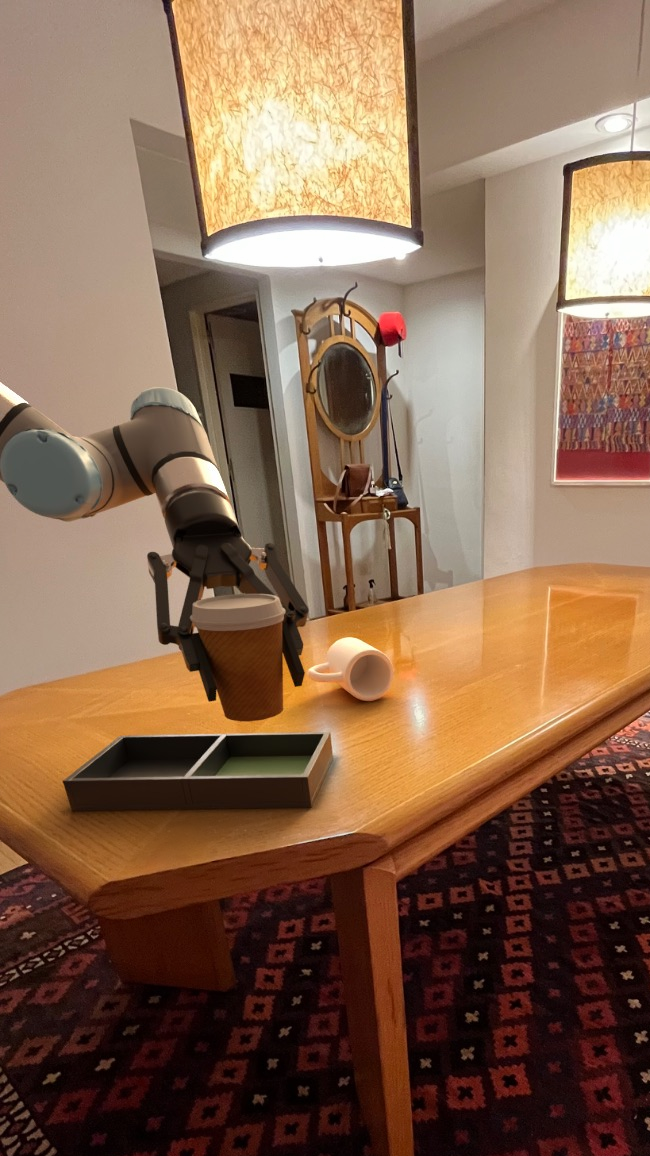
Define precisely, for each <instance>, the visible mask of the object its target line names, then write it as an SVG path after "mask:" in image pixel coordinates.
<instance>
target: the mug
mask: <svg viewBox="0 0 650 1156" xmlns="http://www.w3.org/2000/svg"><path fill="white" fill-rule="evenodd" d="M307 676H308V678H309V679H310V680H311V681H313V682H316V683H323V684H324V683H326V684H337V685H338V686H339V687H341V688H342V689H344V690H345V691H346V692H348V693H349V694H350V695H352V696H353V697H354V698H356V699H358V700H360V701H363V702H372V701H376V700H379V699H380V698H382V697H383V696H385V695H386V694H387V693H388V691H389V690H390V689H391V687H392V685H393V682H394V677H395V669H394V665H393V663H392V660H391V659H390V658H389V656H387V654H385V653H384V652H383V651H381V650H379V649H378V648H376V647H374V646H372V645H369V643H366V642H364V641H363V640H361V639H359V638H356V637H350V636H349V637H348V636H347V637H343V638H340V639H338V640H336V641H335V642H334V643H333V644H332V645H330V646H329V648H328V649H327V652H326V655H325V661H324V662H323V663H320V664H316V665H314V666H312V667H310V668H308V670H307Z"/></svg>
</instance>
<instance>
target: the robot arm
mask: <svg viewBox="0 0 650 1156" xmlns="http://www.w3.org/2000/svg"><path fill="white" fill-rule="evenodd" d="M0 481H1V482H3V483H4V484H5V486H6V488H7V491H8V492H9V493H10V494H11V495H12V497H13V498H14V499H15V500H16V501H17V502H18V503H19V504H20V505H21V506H22V507H24V508H25V509H26V510H28V511H29V512H31V513H33V514H35V515H39V516H41V517H44V518H47V519H48V518H49V519H54V520H59V521H62V522H65V523H66V522H67V523H69V522H73V521H77V520H81V519H87V518H93V517H95V516H96V515H97V514H100V513H102V512H103V513H104V512H105V511H108V510H111V509H114V508H117V507H120V506H123V505H125V504H127V503H130V502H133V501H136V500H139V499H141V498H144V497H148V496H152V495H154V494H155V495H156V498H157V502H158V505H159V508H160V511H161V515H162V517H163V520H164V524H165V527H166V531H167V533H168V537H169V540H170V543H171V546H172V551H171V553H169V554H164V555H160V554H159V553H158V552H156V551H149V552H148V553H147V554H146V555H147V556H146V558H147V568H148V573H149V576H150V577H151V579H152V580H153V583H154V591H155V593H154V594H155V606H156V607H155V609H156V610H155V611H156V627H157V638H158V643H160V644H161V645H164V646H168V645H169V644H174V645H177V646H178V650H180V651H181V654H182V658H183V661H184V664H185V666H186V669H187V671H189V673H192V672H198V673H199V676H200V679H201V683H202V685H203V688H204V692H205V694H206V695H205V696H206V699H207V701H208V702H209V703H211V702H216V701H217V687H216V684H215V681H214V678H213V674H212V671H211V668H210V665H209V662H208V659H207V656H206V653H205V650H204V647H203V644H202V640H201V638H200V635H199V633H198V632H194V631H195V628H196V627H195V626H194V623H193V622H192V621H191V619H190V616H191V615H192V609H193V603H194V602H196V601H199V600H202V599H203V595H204V591H205V588H206V590H211V589H216V588H219V587H226V588H231V587H235V588H237V590H238V591H239V592H240V594H269V595H274V596H277V597H279V599H280V602H281V605H282V608H284V609H285V614H284V619H283V621H282V645H283V648H282V650H283V659H284V660H285V663H286V666H287V669H288V671H289V675H290V677H291V680H292V683H293V685H294V688H297V687H302V686H303V682H304V678H305V674H306V672H305V670H304V666H303V663H302V661H301V658H300V656H302V654H303V649H304V642H303V639H302V637H301V633H300V630H299V628H304V627H305V626H306V625H307V620H308V617H309V611H310V609H309V607H308V605H307V604H306V601H304V599H303V598H302V596H301V594H300V593H299V591H298V589H297V587H296V586H295V584H294V583H293V581H292V579H291V577H290V576H289V575H288V573H287V571H286V570H285V568H284V566H283V565H282V563H281V562H280V560H279V558H278V557H279V556H278V551H277V547H276V545H275V544H274V543H272V542H267V543H265V544H264V547H251V545H250V544H249V543H248V542H246V540H245V539H244V538H243V535H242V531H241V529H240V525H239V523H238V521H237V518H236V514H235V511H234V509H233V507H232V505H231V501H230V497H229V495H228V492H227V490H226V486H225V484H224V481H223V480H222V476H221V474H220V471H219V468H218V464H217V462H216V459H215V457H214V452H213V450H212V447H211V444H210V441H209V437H208V434H207V432H206V430H205V428H204V426H203V423H202V421H201V419H200V416H199V413H198V412H197V409H196V407H195V406H194V404H193V403H192V402H191V400H190V399H189V398H188V397H187V396H186V395H184V394H183V393H181V392H180V391H178V390H175V389H173V388H169V387H164V386H163V387H162V386H155V387H150V388H147V389H145V390H143V391H142V392H140V394H139V395H138V396H137V397H136V398H135V399H134V400H133V401H132V403H131V406H130V420H128V421H124V422H122V423H119V424H118V425H115V426H113V427H110V428H107V429H103V430H101V431H96V432H93V433H90V434H86V435H84V436H76V435H72V434H71V433H69V432H68V431H66V430H65V429H64V428H63V427H61V426H60V425H58V424H57V423H56V422H54V421H53V420H52V419H50V418H49V417H48V416H46V415H45V414H44V413H42V412H41V411H39V410H38V409H36V408H35V407H33V406H32V405H31V404H29V402H27V401H26V400H24V399H23V398H22V397H21V396H19V395H18V394H16V392H14V391H12V390H11V389H10V388H9V387H7V386H5V384H3V383H2V382H0ZM251 561H252V562H255V563H256V564H257V566H258V567H259V569H260V570H261V571H264V573H265V576H266V578H267V580H268V582H270V585H271V586H272V588H273V589H274V591H275V593H276V594H274V592H273V591H272V590H271V589H270V588H269V587H268V586H267V585H266V584H265V583H264V582H263V581H262V580H261V579H260V578H259V577H258V576H257V575H256V574H255V571H254V569H253V567H252V566H251V565H250V564H251ZM173 568H176V569H177V570H178V571H179V572H181V573H182V574H183V575H185V576H186V577H187V578H189V581H188V585H187V590H186V593H185V597H184V601H183V605H182V610H181V613H180V616H179V617H180V618H179V621H178V624H177V625H171V617H170V616H171V615H170V600H169V599H170V598H169V583H168V580H169V579H170V577H171V576H172V575H173Z"/></svg>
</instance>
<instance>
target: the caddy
mask: <svg viewBox="0 0 650 1156" xmlns="http://www.w3.org/2000/svg"><path fill="white" fill-rule="evenodd" d="M332 743H333V742H332V736H331V732H330V731H312V732H311V731H309V732H308V731H307V732H305V731H303V732H253V733H252V732H251V733H250V732H249V733H245V732H244V733H243V732H242V733H197V734H195V733H194V734H192V733H191V734H190V733H189V734H138V735H137V734H136V735H135V734H133V735H119V736H118V737H117V738H116V739H114V740H113V741H112V742H111V743H109V744H107V746H105V747H104V748H103V749H102V750H100V751H99V752H97V754H95V755H94V756H93V757H92V758H90V759H89V760H88V761H86V762H85V763H84V764H82V765H81V766H80V767H79V768H77V769H76V770H75V771H73V772H72V773H71V774H70V775H68V776H67V777H66V778H64V779H63V780H62V784H63V787H64V790H65V794H66V796H67V800H68V804H69V806H70V810H71V812H83V811H84V812H94V811H96V812H98V811H99V812H100V811H102V812H103V811H160V810H161V811H163V810H165V811H168V810H169V811H170V810H175V811H176V810H231V809H232V810H233V809H234V810H235V809H238V810H239V809H240V810H241V809H297V808H298V809H305V808H309V809H310V808H312V807H313V805H314V803H315V801H316V799H317V796H318V794H319V791H320V789H321V787H322V785H323V783H324V780H325V778H326V776H327V774H328V772H329V769H330V767H331V765H332V763H333V760H334V753H333V744H332Z"/></svg>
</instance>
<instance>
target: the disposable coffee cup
mask: <svg viewBox="0 0 650 1156" xmlns="http://www.w3.org/2000/svg"><path fill="white" fill-rule="evenodd" d="M280 601H281V599H280V598H279V596H278V595H276V596H274V595H269V594H245V593H244V594H243V593H237V594H224V595H217V596H212V597H207V598H201V600H199V601H196V602H194V603H193V609H192V615H191V616H190V619H191V621H192V622H193V623H194V626H195V627H194V628H196V630H197V633H199V635H200V638H201V640H202V644H203V647H204V650H205V653H206V656H207V659H208V662H209V665H210V668H211V671H212V674H213V678H214V681H215V684H216V687H217V690H216V693H217V695H218V698H219V701H220V704H221V707H222V710H223V713H224V717H225V718H226V719H227V720H230V721H234V722H235V721H236V722H245V723H246V722H247V723H248V722H256V721H257V722H258V721H263V720H268V719H271V718H274V717H276V716H279V715H280V714H281V713H282V712H283V711H284V667H283V666H284V665H283V664H284V662H283V661H284V655H283V650H282V648H283V645H282V621H283V619H284V614H285V609H284V608H282V605H281V602H282V601H281V602H280Z"/></svg>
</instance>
